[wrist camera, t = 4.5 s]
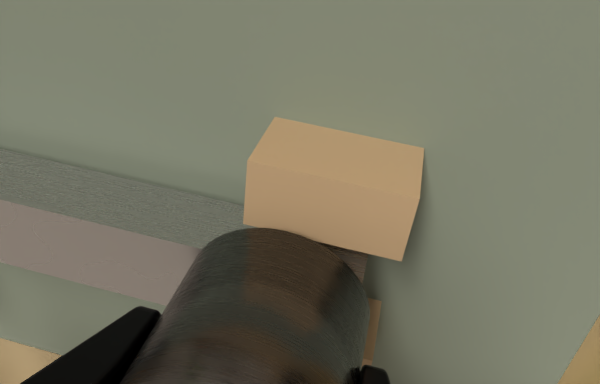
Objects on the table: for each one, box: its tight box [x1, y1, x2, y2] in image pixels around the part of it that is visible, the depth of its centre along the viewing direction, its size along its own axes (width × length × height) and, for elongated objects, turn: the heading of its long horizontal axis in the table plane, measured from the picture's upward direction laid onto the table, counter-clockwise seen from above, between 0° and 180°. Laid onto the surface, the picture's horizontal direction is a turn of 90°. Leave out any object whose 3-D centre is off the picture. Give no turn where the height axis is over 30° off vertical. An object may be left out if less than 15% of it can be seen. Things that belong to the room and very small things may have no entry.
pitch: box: [0, 0, 600, 384], centre depth 13 cm, size 23×14×2 cm, turn 84°
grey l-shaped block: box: [0, 149, 370, 384], centre depth 10 cm, size 12×4×6 cm, turn 84°
